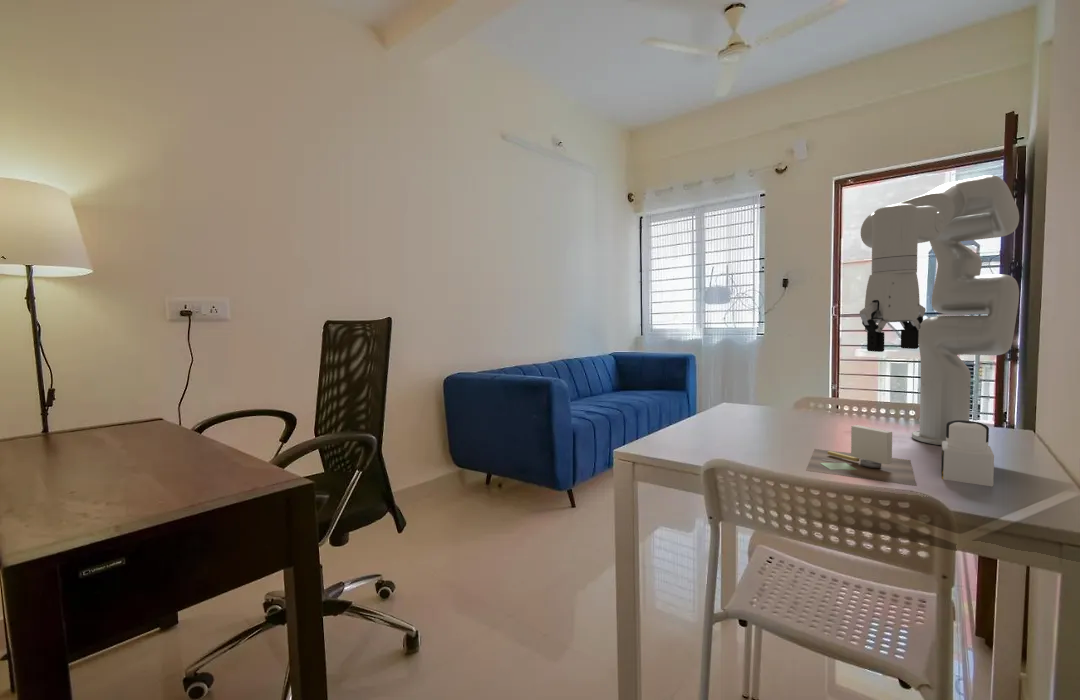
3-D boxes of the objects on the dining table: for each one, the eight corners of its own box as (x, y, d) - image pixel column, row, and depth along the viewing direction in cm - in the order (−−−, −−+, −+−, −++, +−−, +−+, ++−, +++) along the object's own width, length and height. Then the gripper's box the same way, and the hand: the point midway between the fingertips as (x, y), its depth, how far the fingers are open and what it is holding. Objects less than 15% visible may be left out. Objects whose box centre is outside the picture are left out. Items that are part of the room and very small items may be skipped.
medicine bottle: (940, 474, 96) (942, 416, 95) (989, 481, 91) (991, 420, 91) (941, 485, 90) (943, 423, 90) (993, 493, 86) (995, 428, 85)
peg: (883, 472, 95) (884, 433, 94) (823, 456, 106) (823, 421, 106) (894, 469, 96) (894, 431, 96) (833, 454, 108) (834, 419, 107)
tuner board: (814, 453, 112) (814, 448, 112) (910, 465, 102) (910, 459, 102) (805, 475, 98) (805, 469, 98) (916, 492, 87) (916, 485, 87)
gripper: (904, 268, 103) (903, 346, 105) (845, 269, 98) (844, 351, 99) (943, 264, 96) (941, 348, 97) (881, 265, 91) (880, 353, 92)
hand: (892, 349), depth 98 cm, fingers open, 9 cm apart
